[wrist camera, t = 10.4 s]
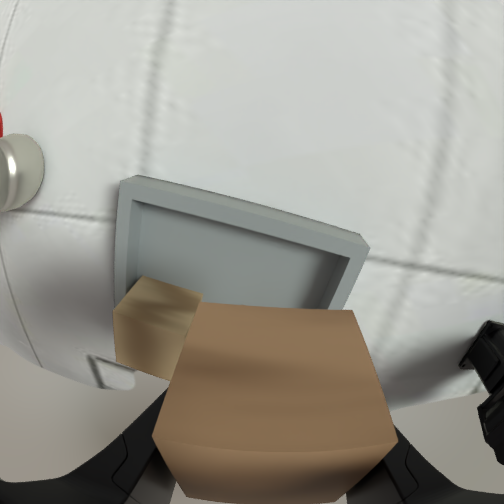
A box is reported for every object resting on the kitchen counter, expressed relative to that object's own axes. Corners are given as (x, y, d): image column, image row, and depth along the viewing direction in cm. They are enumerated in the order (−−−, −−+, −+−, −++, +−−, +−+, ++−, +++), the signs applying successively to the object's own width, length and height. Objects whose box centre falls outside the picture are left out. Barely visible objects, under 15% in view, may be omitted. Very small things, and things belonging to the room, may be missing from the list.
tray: (359, 234, 18) (370, 247, 16) (294, 372, 24) (295, 393, 22) (137, 174, 18) (120, 180, 16) (128, 327, 24) (116, 343, 21)
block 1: (203, 293, 21) (184, 335, 16) (194, 340, 23) (178, 383, 18) (142, 275, 21) (112, 311, 16) (140, 323, 23) (116, 361, 18)
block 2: (322, 400, 11) (334, 501, 6) (207, 394, 11) (186, 497, 6) (352, 309, 9) (398, 441, 4) (199, 301, 9) (151, 436, 4)
